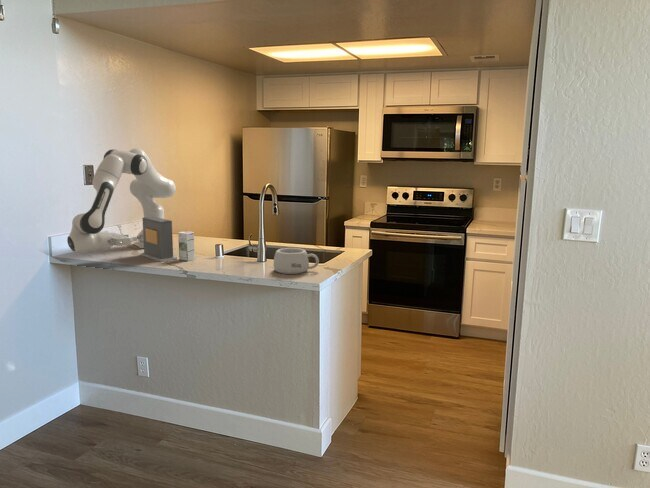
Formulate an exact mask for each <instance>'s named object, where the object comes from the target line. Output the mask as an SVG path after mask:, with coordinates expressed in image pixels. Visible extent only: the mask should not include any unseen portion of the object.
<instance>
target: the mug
mask: <svg viewBox="0 0 650 488" xmlns="http://www.w3.org/2000/svg"><path fill="white" fill-rule="evenodd" d="M310 257H313V258H314V259H315V263H314V264H312V265H310V263H309V261H310V260H309V258H310ZM319 262H320V259H319V257H318V256H317V254H314V253H308V252H307V251H306V249H302V248H299V247H286V248H285V247H282V248H279V249H277V250H276V251H275V253H274V257H273V269H274V271H275V272H276V273H279V274H283V275H297V274H304V273H306V272H307V271H308V270H311V269H314V268H316V267H318V266H319V264H320V263H319Z"/></svg>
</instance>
